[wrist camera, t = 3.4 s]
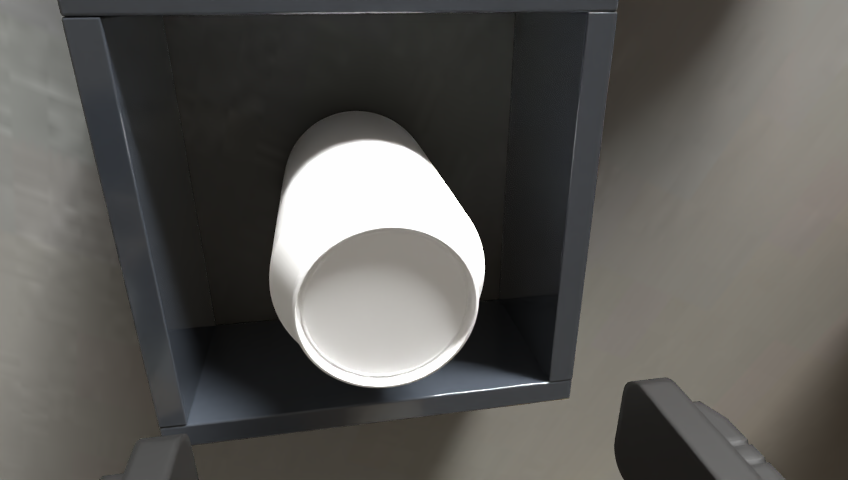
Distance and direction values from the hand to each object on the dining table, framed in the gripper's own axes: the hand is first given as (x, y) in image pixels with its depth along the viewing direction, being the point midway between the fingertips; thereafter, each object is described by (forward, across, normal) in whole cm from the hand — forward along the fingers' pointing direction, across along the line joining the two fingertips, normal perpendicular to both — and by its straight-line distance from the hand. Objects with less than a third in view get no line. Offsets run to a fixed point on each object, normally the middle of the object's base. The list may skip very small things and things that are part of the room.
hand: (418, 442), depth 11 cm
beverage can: (+17, 0, 0) cm, 17 cm away
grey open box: (+17, 0, 0) cm, 17 cm away
